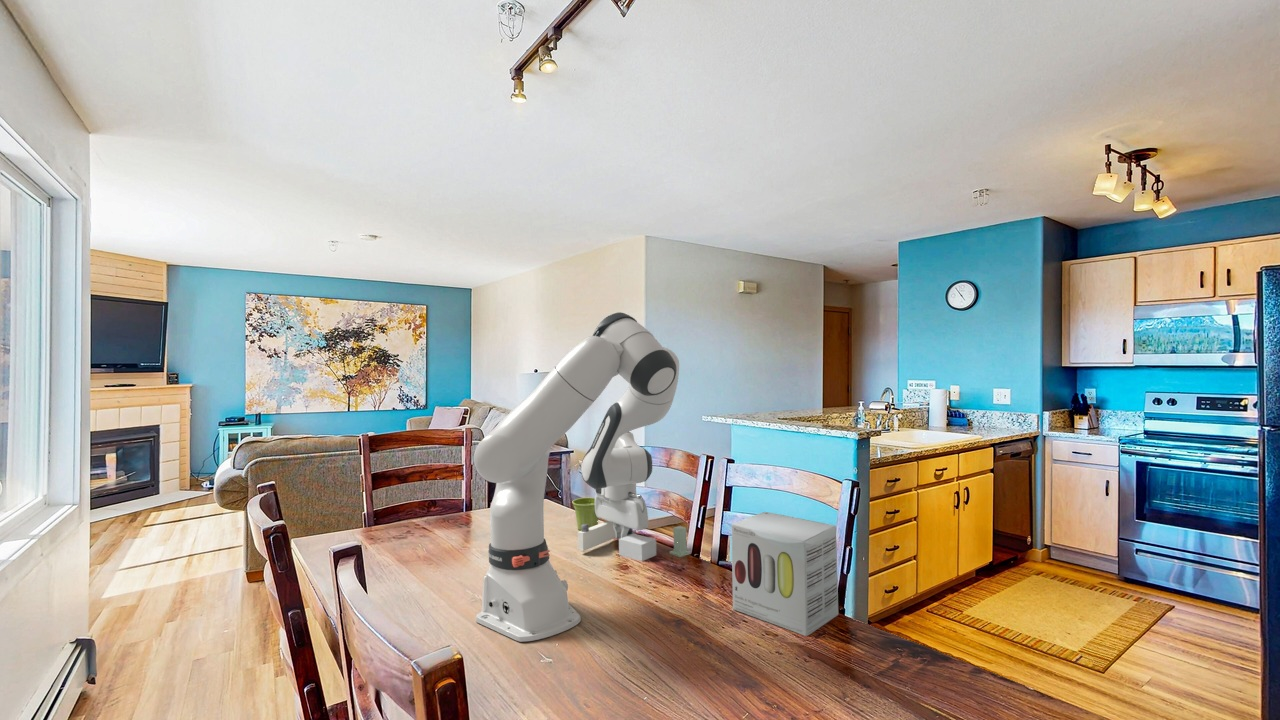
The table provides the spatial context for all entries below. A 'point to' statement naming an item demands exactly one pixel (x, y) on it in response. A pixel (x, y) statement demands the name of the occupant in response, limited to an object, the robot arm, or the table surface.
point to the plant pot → (585, 512)
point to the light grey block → (637, 547)
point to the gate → (595, 535)
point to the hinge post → (630, 532)
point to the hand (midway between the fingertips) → (621, 539)
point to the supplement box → (785, 571)
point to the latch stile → (680, 542)
